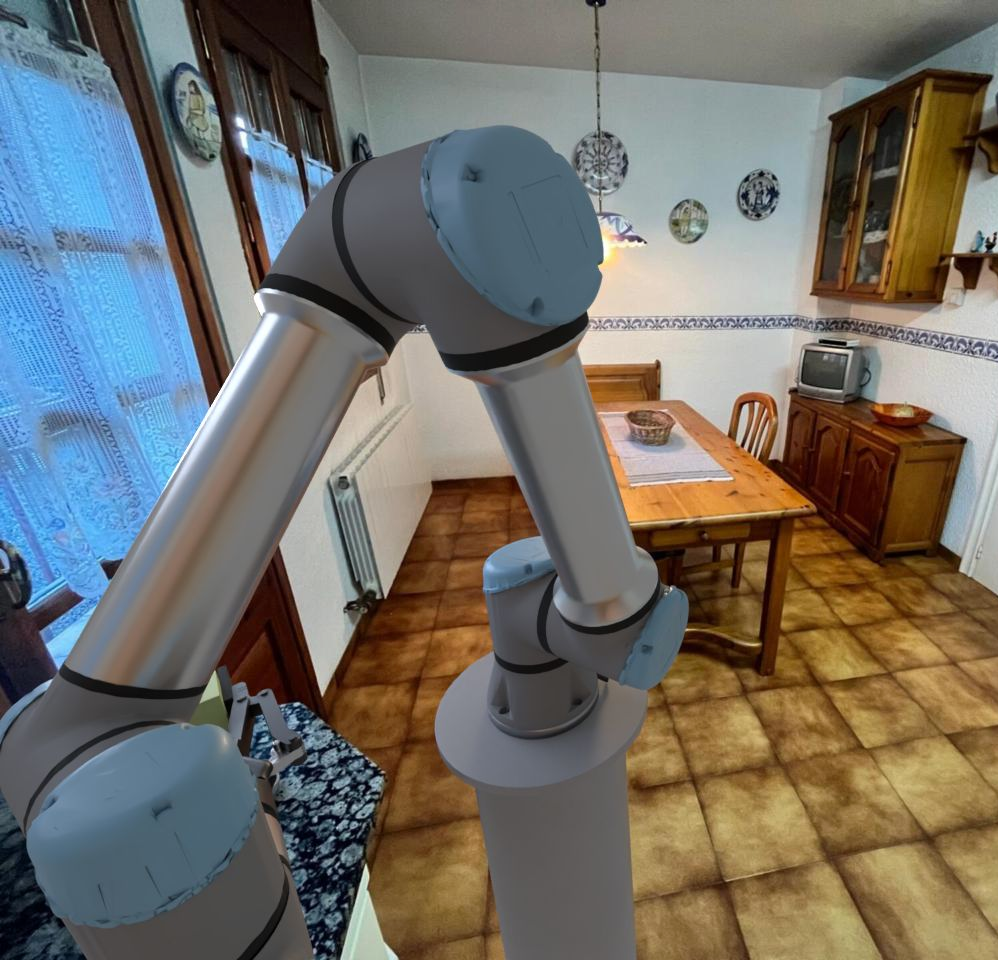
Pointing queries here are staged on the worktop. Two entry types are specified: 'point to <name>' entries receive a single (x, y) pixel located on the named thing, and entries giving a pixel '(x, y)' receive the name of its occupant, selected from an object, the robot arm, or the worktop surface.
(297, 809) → the worktop surface
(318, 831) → the worktop surface
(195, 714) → the juice box
